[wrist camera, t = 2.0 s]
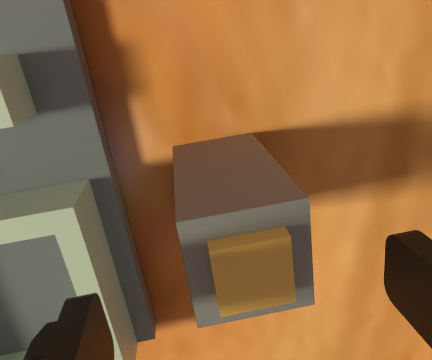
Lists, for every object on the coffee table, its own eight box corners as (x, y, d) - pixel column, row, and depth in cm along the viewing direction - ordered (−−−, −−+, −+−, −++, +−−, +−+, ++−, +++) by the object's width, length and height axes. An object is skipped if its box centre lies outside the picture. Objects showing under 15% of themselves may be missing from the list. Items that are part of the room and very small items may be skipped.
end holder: (89, 179, 17) (73, 207, 14) (137, 342, 20) (132, 390, 18) (-137, 219, 16) (-201, 256, 13) (-45, 379, 20) (-79, 434, 17)
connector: (252, 132, 18) (316, 206, 10) (259, 204, 20) (321, 317, 12) (172, 146, 18) (175, 233, 10) (186, 217, 19) (199, 342, 11)
